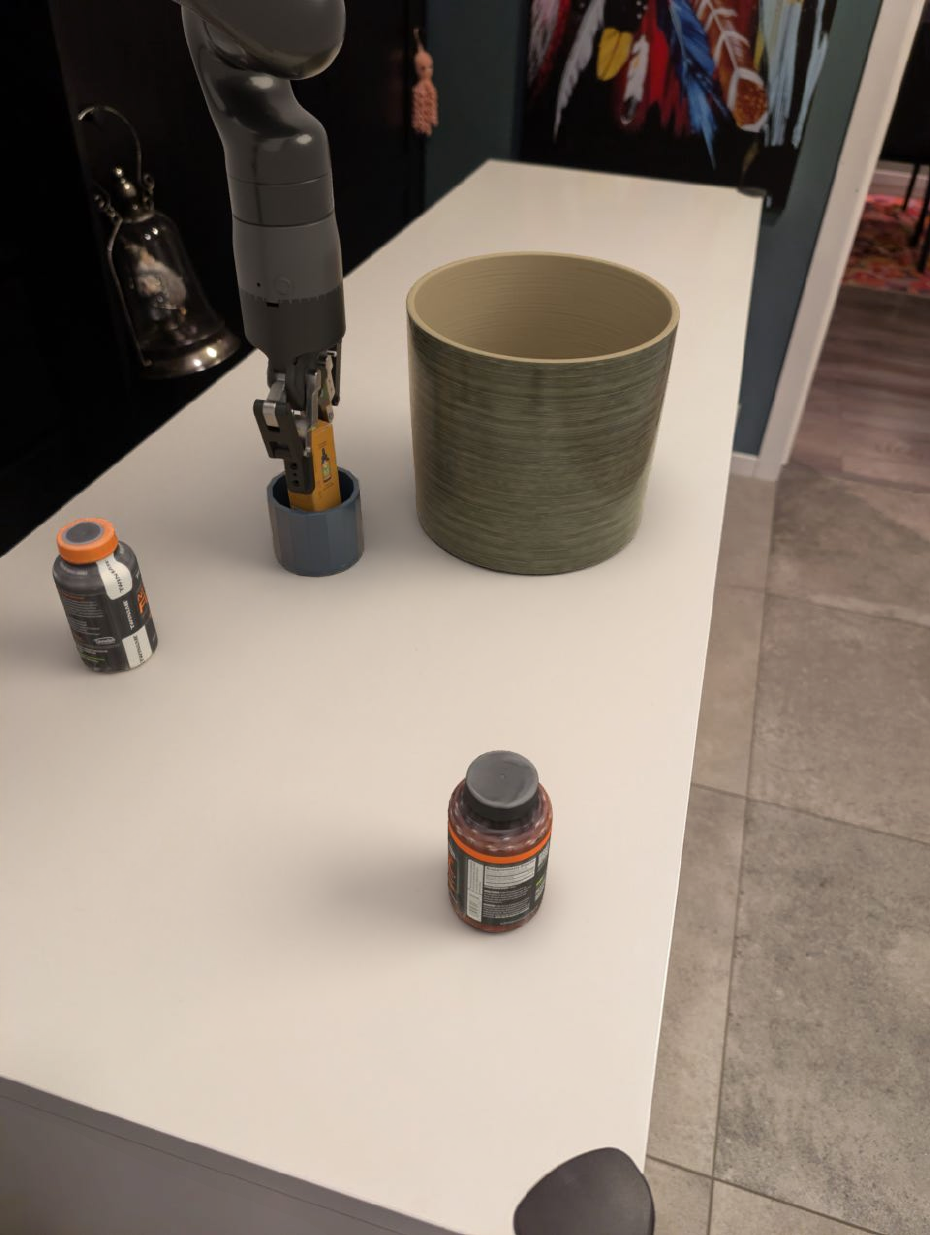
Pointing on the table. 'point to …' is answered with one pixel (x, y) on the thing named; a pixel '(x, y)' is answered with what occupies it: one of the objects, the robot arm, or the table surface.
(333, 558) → the cup
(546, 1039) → the table surface
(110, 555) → the pill bottle
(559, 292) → the planter
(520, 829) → the supplement bottle
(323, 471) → the supplement box
